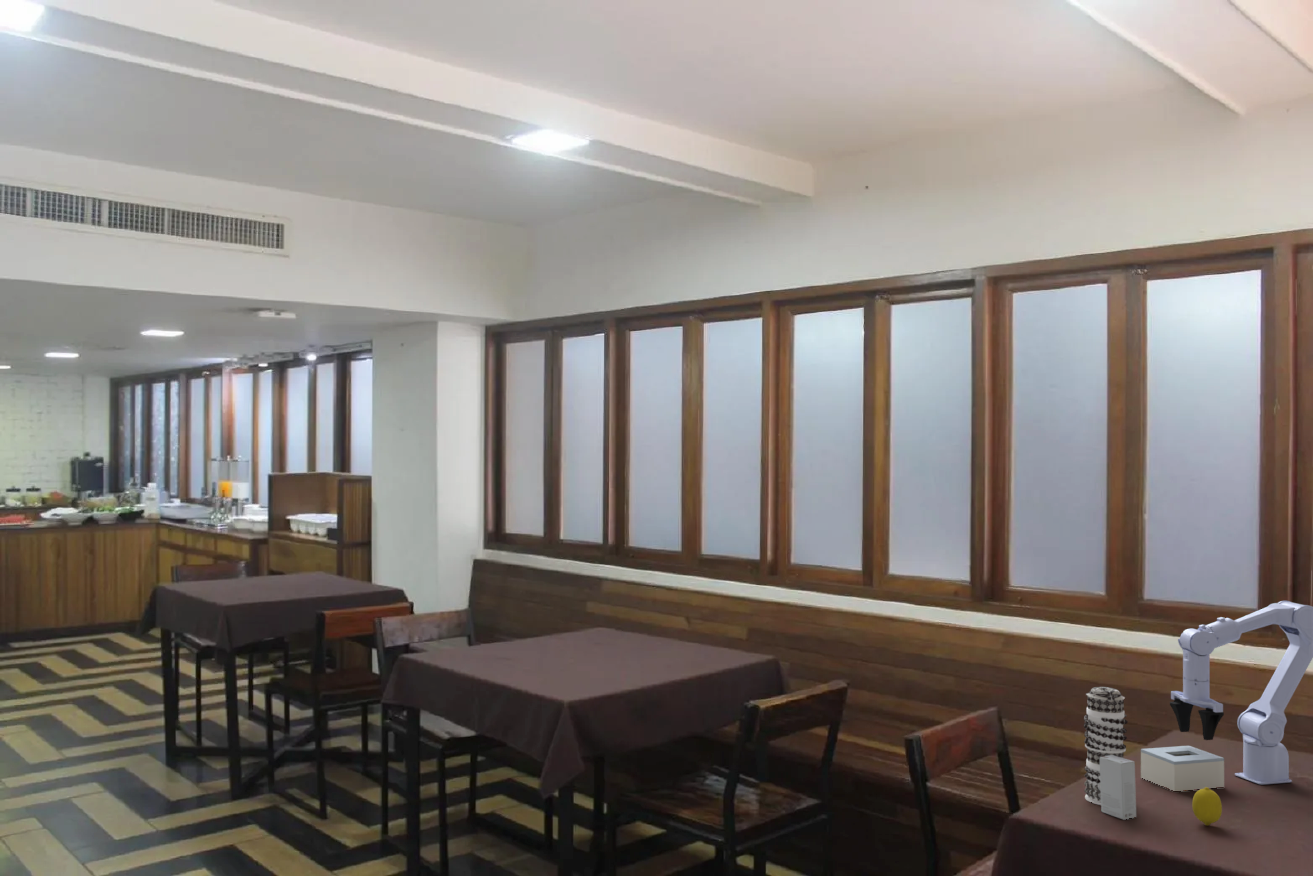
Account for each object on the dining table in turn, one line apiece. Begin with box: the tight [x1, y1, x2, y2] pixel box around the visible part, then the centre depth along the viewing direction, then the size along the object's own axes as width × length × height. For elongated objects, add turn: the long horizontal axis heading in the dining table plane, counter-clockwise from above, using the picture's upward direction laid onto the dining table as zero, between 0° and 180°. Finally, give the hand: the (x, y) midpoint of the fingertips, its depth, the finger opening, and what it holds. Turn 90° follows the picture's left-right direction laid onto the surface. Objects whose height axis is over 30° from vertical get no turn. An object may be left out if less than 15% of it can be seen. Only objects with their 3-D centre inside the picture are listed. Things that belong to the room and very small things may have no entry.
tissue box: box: [1140, 745, 1225, 792], centre depth 248 cm, size 14×11×7 cm
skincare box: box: [1100, 755, 1137, 821], centre depth 224 cm, size 6×4×12 cm
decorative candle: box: [1083, 686, 1129, 806], centre depth 234 cm, size 9×9×25 cm
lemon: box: [1191, 787, 1223, 827], centre depth 218 cm, size 6×6×8 cm
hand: (1196, 735), depth 251 cm, fingers open, 7 cm apart
